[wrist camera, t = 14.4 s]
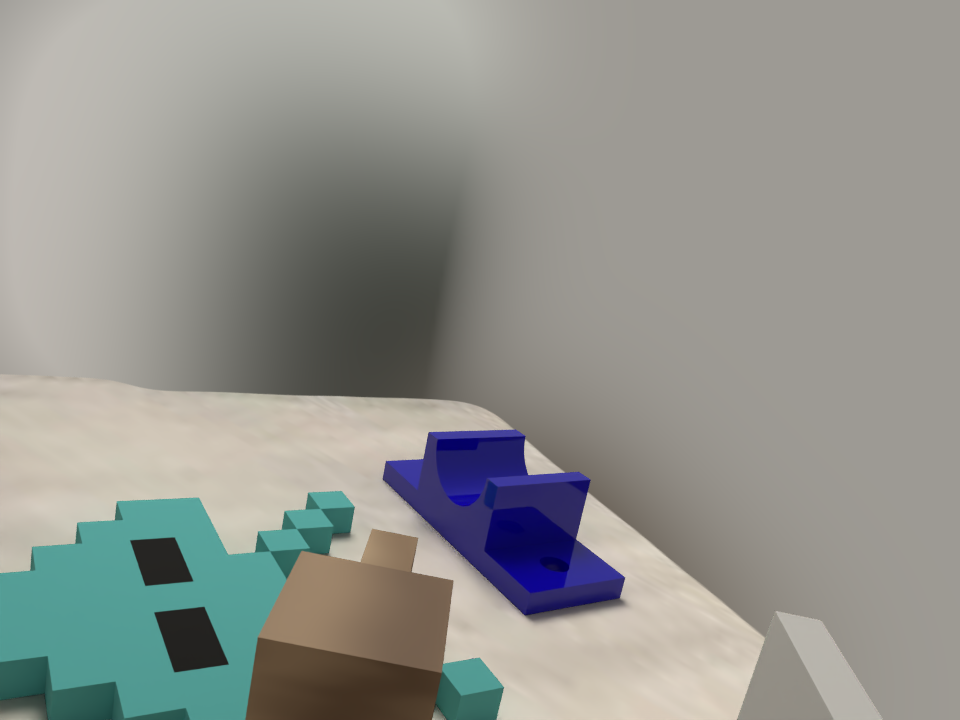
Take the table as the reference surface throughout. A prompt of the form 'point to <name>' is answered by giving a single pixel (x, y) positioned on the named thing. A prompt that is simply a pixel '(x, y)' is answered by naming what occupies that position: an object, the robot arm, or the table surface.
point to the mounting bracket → (507, 518)
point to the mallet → (353, 638)
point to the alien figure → (170, 616)
